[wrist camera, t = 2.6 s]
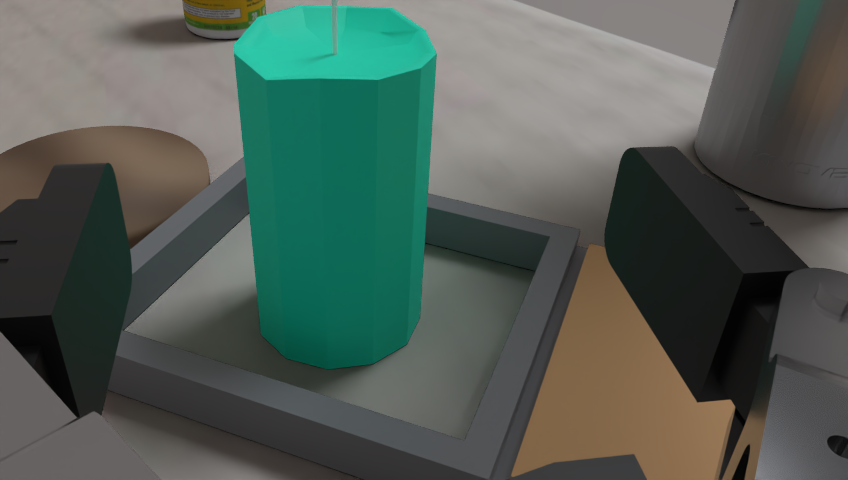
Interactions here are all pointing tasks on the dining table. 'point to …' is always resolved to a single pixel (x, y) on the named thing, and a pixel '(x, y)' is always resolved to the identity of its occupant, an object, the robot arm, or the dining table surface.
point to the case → (507, 389)
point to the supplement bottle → (221, 17)
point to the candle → (337, 177)
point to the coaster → (132, 163)
